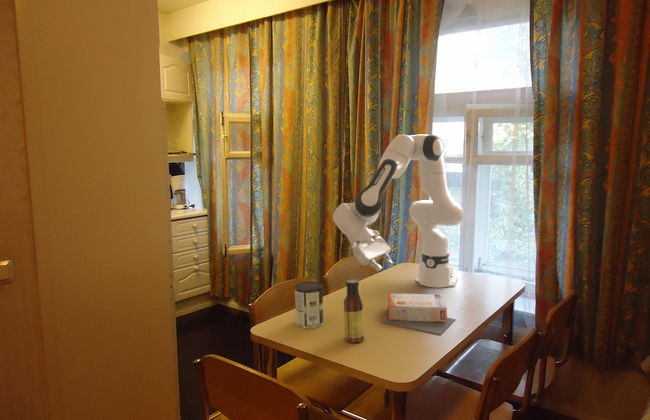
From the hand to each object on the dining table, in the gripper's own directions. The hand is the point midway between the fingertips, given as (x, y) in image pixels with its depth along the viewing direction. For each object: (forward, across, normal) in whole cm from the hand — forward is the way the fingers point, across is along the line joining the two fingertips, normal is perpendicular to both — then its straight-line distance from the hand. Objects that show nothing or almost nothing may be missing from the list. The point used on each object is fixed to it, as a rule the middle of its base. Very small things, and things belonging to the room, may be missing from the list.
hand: (385, 267), depth 162 cm
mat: (+22, 0, +4) cm, 23 cm away
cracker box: (+11, 0, +10) cm, 15 cm away
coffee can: (-1, -22, +27) cm, 35 cm away
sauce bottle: (+14, -26, +13) cm, 32 cm away
